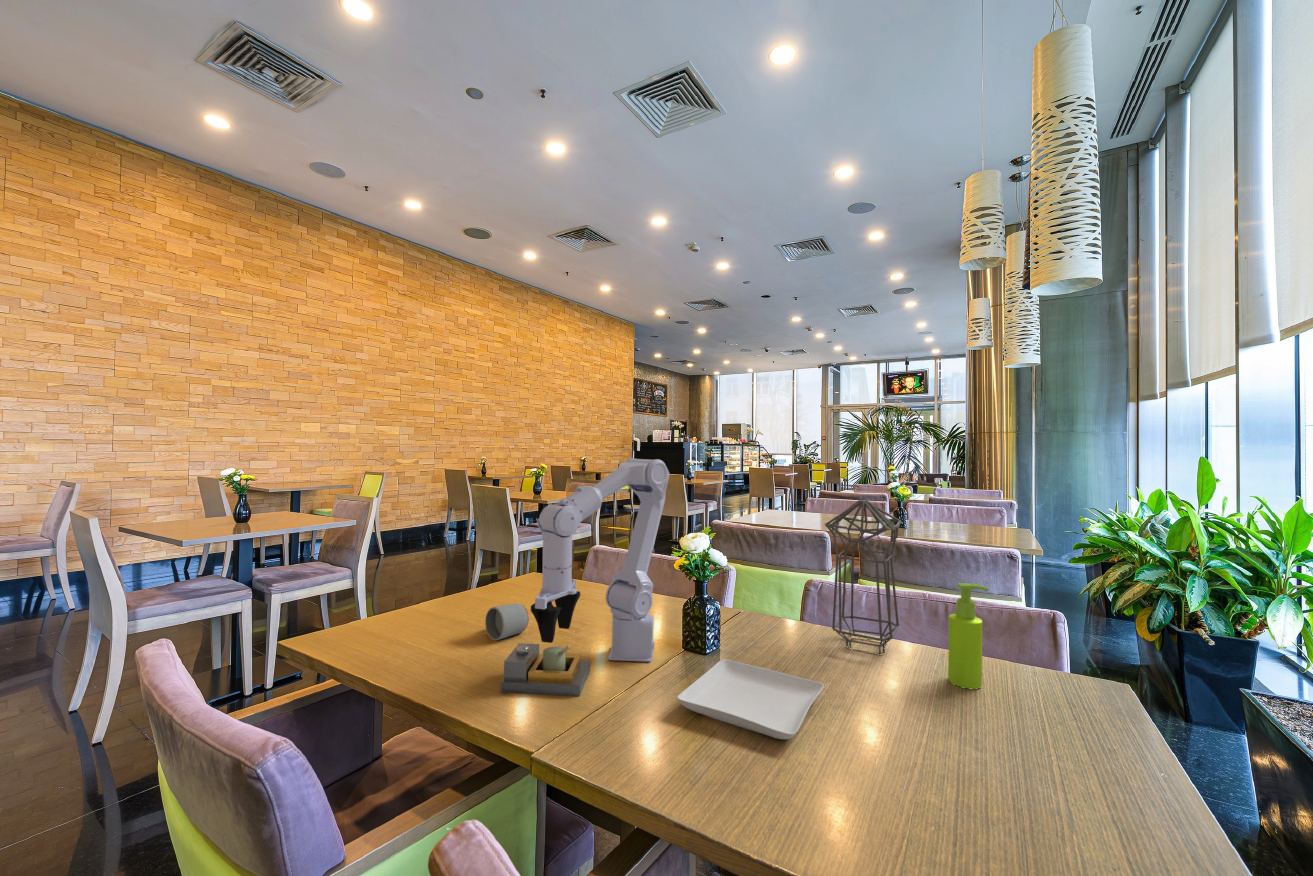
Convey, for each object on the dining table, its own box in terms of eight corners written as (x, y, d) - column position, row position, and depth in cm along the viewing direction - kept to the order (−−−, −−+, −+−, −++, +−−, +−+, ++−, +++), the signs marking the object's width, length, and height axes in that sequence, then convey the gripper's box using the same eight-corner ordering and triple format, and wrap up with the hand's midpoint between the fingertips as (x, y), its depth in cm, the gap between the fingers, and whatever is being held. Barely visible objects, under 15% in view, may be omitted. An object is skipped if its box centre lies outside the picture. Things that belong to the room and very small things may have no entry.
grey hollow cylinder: (530, 634, 129) (531, 603, 130) (502, 644, 123) (502, 611, 123) (504, 625, 136) (505, 595, 136) (476, 634, 130) (477, 602, 130)
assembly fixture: (589, 670, 110) (590, 638, 110) (579, 696, 99) (580, 660, 99) (518, 667, 110) (519, 635, 110) (500, 692, 99) (501, 657, 99)
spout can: (550, 674, 108) (551, 637, 108) (575, 680, 105) (576, 641, 105) (537, 683, 103) (538, 644, 103) (563, 689, 101) (564, 649, 101)
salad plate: (825, 699, 100) (825, 681, 100) (794, 755, 82) (794, 733, 82) (722, 672, 111) (722, 656, 111) (673, 717, 92) (674, 697, 92)
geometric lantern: (896, 666, 115) (894, 505, 115) (823, 651, 123) (821, 501, 123) (905, 642, 128) (903, 498, 129) (838, 630, 137) (837, 495, 137)
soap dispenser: (992, 691, 103) (993, 589, 104) (953, 687, 105) (955, 587, 105) (980, 678, 109) (981, 581, 109) (944, 675, 111) (945, 579, 111)
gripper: (560, 576, 97) (558, 651, 97) (589, 559, 111) (588, 624, 111) (525, 573, 98) (524, 646, 98) (558, 557, 112) (557, 621, 112)
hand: (556, 634), depth 105 cm, fingers open, 7 cm apart
